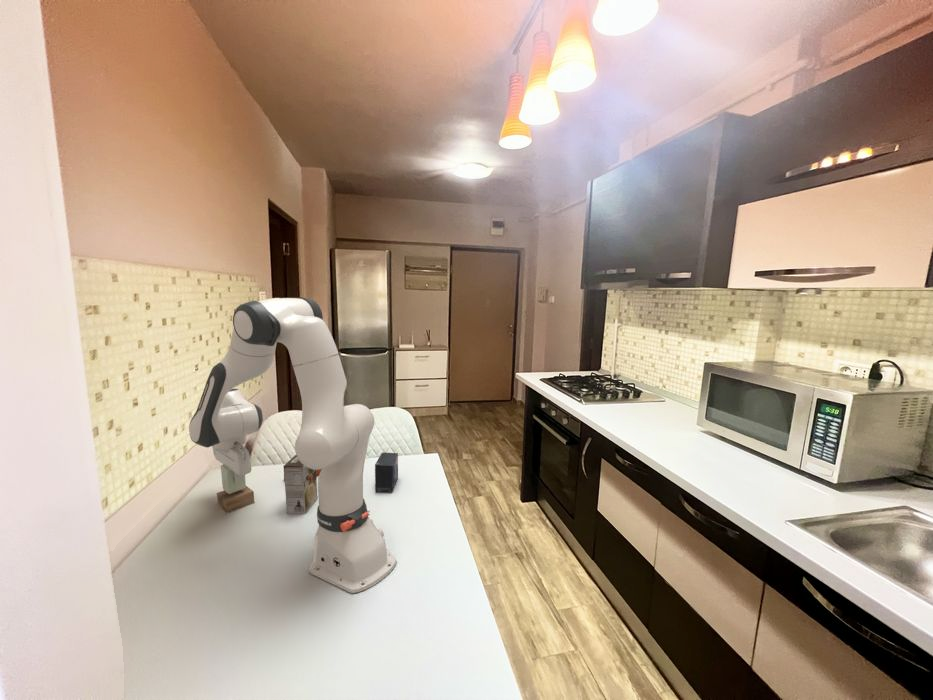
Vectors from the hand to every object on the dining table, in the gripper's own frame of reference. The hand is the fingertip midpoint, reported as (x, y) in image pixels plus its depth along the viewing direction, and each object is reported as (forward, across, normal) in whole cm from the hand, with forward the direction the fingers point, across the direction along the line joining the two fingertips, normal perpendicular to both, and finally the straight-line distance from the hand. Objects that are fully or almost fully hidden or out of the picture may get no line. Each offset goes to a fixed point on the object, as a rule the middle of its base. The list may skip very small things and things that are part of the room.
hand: (233, 479), depth 123 cm
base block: (+8, 0, 0) cm, 8 cm away
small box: (+9, -29, -39) cm, 49 cm away
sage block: (+3, 0, 0) cm, 3 cm away
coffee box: (+9, -18, -13) cm, 24 cm away
